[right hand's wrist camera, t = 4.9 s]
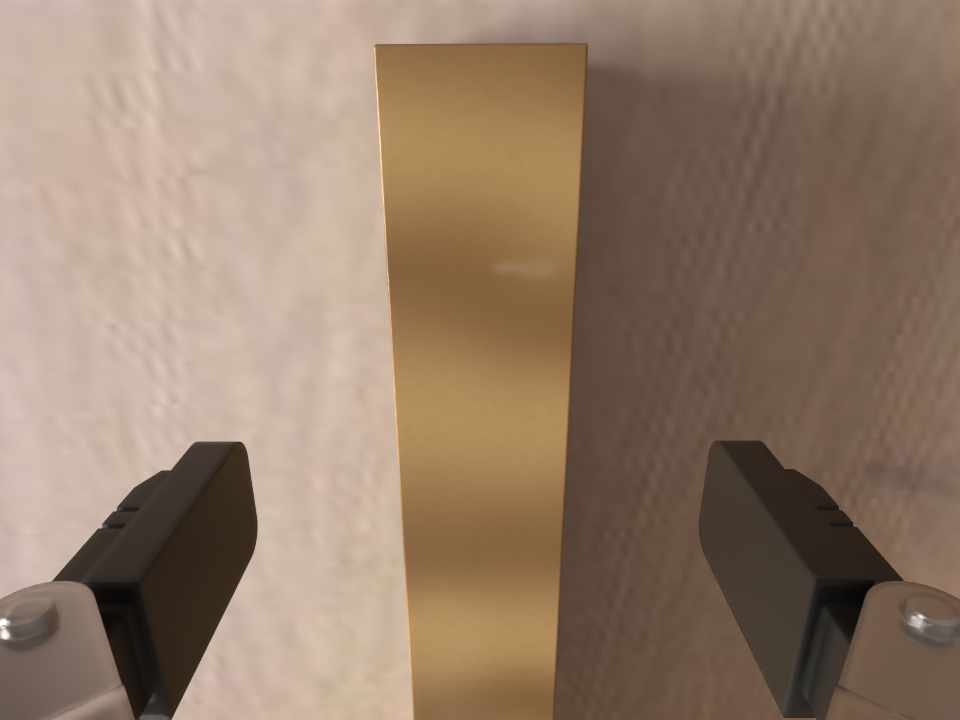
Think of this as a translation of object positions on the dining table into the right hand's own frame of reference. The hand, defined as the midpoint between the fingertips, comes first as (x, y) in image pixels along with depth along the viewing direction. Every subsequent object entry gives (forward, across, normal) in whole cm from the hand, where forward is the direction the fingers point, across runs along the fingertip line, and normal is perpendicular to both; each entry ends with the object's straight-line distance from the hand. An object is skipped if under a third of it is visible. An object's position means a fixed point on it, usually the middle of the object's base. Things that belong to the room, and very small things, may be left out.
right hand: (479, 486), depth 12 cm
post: (+16, 0, -21) cm, 26 cm away
